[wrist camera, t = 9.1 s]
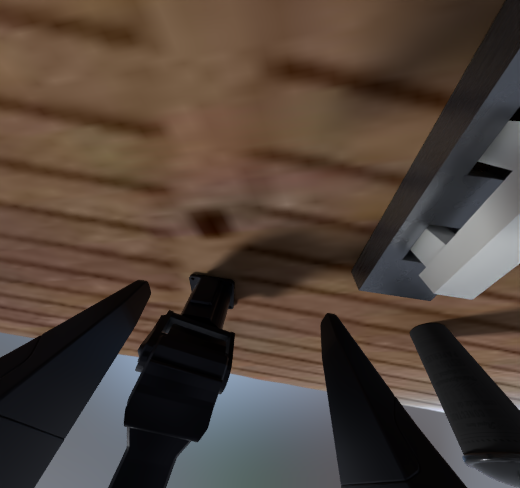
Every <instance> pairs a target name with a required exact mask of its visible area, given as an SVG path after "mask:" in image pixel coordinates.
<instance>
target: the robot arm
mask: <svg viewBox="0 0 520 488" xmlns="http://www.w3.org/2000/svg"><path fill="white" fill-rule="evenodd" d="M189 279H190V285H191V290H192V293H191V295H190V297H189V299H188V301H187V303H186V305H185V307H184V309H183V311H182V313H181V315H180V314H177V313H174V311H171V310H169V311H168V313H167V314H166V315H161V317H160V319H159V320H158V322H157V324H156V325H155V327H154V328H153V330H152V331H151V332H150V334H149V335H148V336H147V338H146V339H145V340H144V341H143V343H142V344H141V345H140V347H139V349H138V354H139V359H138V365H137V367H136V369H135V370H136V371H138V372H141V374H140V376H139V378H138V381H137V382H136V385H135V386H134V388H133V390H132V392H131V394H130V396H129V399H128V402H127V407H126V409H125V417H124V426H125V427H127V448H126V450H125V453H124V455H123V457H122V459H121V461H120V464H119V466H118V468H117V470H116V472H115V474H114V476H113V478H112V481H111V483H110V485H109V487H108V488H166V486H167V483H168V480H169V478H170V475H171V472H172V469H173V466H174V463H175V461H176V458H177V457H178V455H179V454H180V453H181V452H182V451H183V450H184V449H185V447H186V446H187V445H188V444H189V443H190V442H191V441H194V442H198V441H199V440H200V439H201V437H202V436H203V434H204V433H205V432H206V430H207V428H208V426H209V422H210V418H211V415H212V411H213V408H214V405H215V402H216V399H217V396H218V394H221V393H222V392H223V390H224V389H225V386H226V384H227V381H228V378H229V375H230V371H231V367H232V359H233V348H234V338H235V333H234V332H228V331H226V330H223V329H222V328H223V324H224V321H225V317H226V314H227V310H228V309H233V307H234V286H235V282H234V281H233V280H228V279H221V278H215V277H208V276H201V275H195V274H191V275H190V277H189ZM150 295H151V290H150V287H149V284H148V282H147V281H144V280H137V281H135V282H133V283H132V284H130V285H128V286H126V287H125V288H123V289H121V290H119V291H118V292H116V293H114V294H112V295H110V296H109V297H107V298H105V299H103V300H102V301H100V302H98V303H96V304H95V305H93V306H91V307H89V308H88V309H86V310H84V311H82V312H81V313H79V314H77V315H75V316H74V317H72V318H70V319H68V320H67V321H65V322H63V323H61V324H60V325H58V326H56V327H54V328H53V329H51V330H49V331H47V332H45V333H44V334H42V336H38V337H37V338H35V339H33V340H31V341H30V342H28V343H26V344H24V345H22V346H21V347H19V348H17V349H15V350H13V351H12V352H10V353H8V354H6V355H4V356H2V357H1V358H0V488H34V487H35V486H36V484H37V482H38V481H39V479H40V478H41V476H42V475H43V473H44V471H45V470H46V468H47V467H48V465H49V463H50V462H51V460H52V459H53V457H54V455H55V454H56V452H57V451H58V449H59V447H60V446H61V444H62V443H63V441H64V438H65V437H66V436H67V434H68V433H69V431H70V429H71V428H72V426H73V425H74V423H75V422H76V420H77V418H78V417H79V415H80V414H81V412H82V410H83V409H84V407H85V406H86V404H87V402H88V401H89V399H90V398H91V396H92V394H93V393H94V391H95V390H96V388H97V386H98V385H99V383H100V382H101V380H102V378H103V377H104V375H105V374H106V372H107V370H108V369H109V367H110V366H111V364H112V363H113V361H114V359H115V358H116V356H117V355H118V353H119V351H120V350H121V348H122V347H123V345H124V343H125V342H126V340H127V339H128V337H129V335H130V334H131V332H132V331H133V329H134V327H135V326H136V324H137V322H138V320H139V318H140V316H141V314H142V312H143V310H144V308H145V306H146V304H147V302H148V300H149V298H150ZM166 333H167V334H166ZM321 347H322V361H323V368H324V375H325V381H326V388H327V395H328V401H329V407H330V415H331V421H332V428H333V434H334V441H335V448H336V454H337V461H338V468H339V475H340V481H341V488H467V487H466V486H465V484H464V483H463V482H462V481H461V480H460V478H459V477H458V476H457V475H456V473H455V472H454V471H453V470H452V468H451V467H450V466H449V465H448V463H447V462H446V461H445V460H444V459H443V458H442V456H441V455H440V454H439V452H438V451H437V450H436V449H435V448H434V446H433V445H432V444H431V443H430V441H429V440H428V439H427V438H426V436H425V435H424V434H423V433H422V432H421V430H420V429H419V428H418V426H417V425H416V424H415V422H414V421H413V420H412V418H411V417H410V416H409V414H408V413H407V412H406V410H405V409H404V408H403V406H402V405H401V404H400V402H399V401H398V399H397V398H396V397H394V394H393V393H392V391H391V390H390V388H389V387H388V386H387V384H386V383H385V382H384V380H383V379H382V377H381V376H380V375H379V373H378V372H377V371H376V369H375V368H374V366H373V365H372V364H371V362H370V361H369V360H368V358H367V357H366V355H365V354H364V353H363V351H362V350H361V349H360V347H359V346H358V344H357V343H356V342H355V340H354V339H353V337H352V336H351V335H350V333H349V332H348V331H347V329H346V328H345V326H344V325H343V324H342V322H341V321H340V320H339V318H338V317H337V316H336V315H335V314H331V313H327V314H326V315H325V317H324V318H323V320H322V322H321Z"/></svg>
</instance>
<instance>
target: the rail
mask: <svg viewBox="0 0 520 488" xmlns="http://www.w3.org/2000/svg"><path fill="white" fill-rule="evenodd" d="M516 110H520V0H506V1H505V3H504V4H503V6H502V8H501V10H500V11H499V13H498V15H497V17H496V18H495V20H494V22H493V24H492V25H491V27H490V29H489V31H488V32H487V34H486V36H485V38H484V39H483V41H482V43H481V45H480V46H479V48H478V50H477V52H476V53H475V55H474V57H473V59H472V60H471V62H470V64H469V66H468V67H467V69H466V71H465V73H464V74H463V76H462V78H461V80H460V81H459V83H458V85H457V87H456V88H455V90H454V92H453V94H452V95H451V97H450V99H449V101H448V102H447V104H446V106H445V108H444V109H443V111H442V113H441V115H440V116H439V118H438V120H437V122H436V123H435V125H434V127H433V129H432V130H431V132H430V134H429V136H428V137H427V139H426V141H425V143H424V144H423V146H422V148H421V150H420V151H419V153H418V155H417V157H416V158H415V160H414V162H413V164H412V165H411V167H410V169H409V171H408V172H407V174H406V176H405V178H404V179H403V181H402V183H401V185H400V186H399V188H398V190H397V192H396V194H395V195H394V197H393V199H392V201H391V202H390V204H389V206H388V208H387V209H386V211H385V213H384V215H383V216H382V218H381V220H380V222H379V223H378V225H377V227H376V229H375V230H374V232H373V234H372V236H371V237H370V239H369V241H368V243H367V244H366V246H365V248H364V250H363V251H362V253H361V255H360V257H359V258H358V260H357V262H356V264H355V265H354V267H353V269H352V271H351V273H352V275H353V277H354V280H355V282H356V284H357V287H358V289H359V290H361V291H367V292H374V293H381V294H387V295H394V296H400V297H407V298H414V299H420V300H427V301H431V300H432V299H433V298H434V297H435V296H436V295H437V294H433V292H432V291H431V290H430V289H429V287H428V286H427V285H426V284H425V283H424V281H423V280H422V279H421V278H420V276H419V274H420V273H421V272H422V271H423V270H424V269H425V268H426V267H425V265H424V264H423V263H422V262H421V261H420V260H419V259H418V258H417V257H416V255H415V254H414V253H413V252H412V251H411V250H410V249H411V247H412V246H413V245H414V244H415V242H416V241H417V240H418V238H419V237H420V236H421V234H422V233H423V232H424V230H425V229H426V228H427V227H428V225H429V224H430V225H437V226H444V227H447V228H448V229H449V230H451V231H452V232H453V233H455V234H456V233H457V232H458V231H459V230H460V229H461V228H462V227H463V226H464V224H465V223H466V222H467V221H468V220H469V219H470V218H471V217H472V216H473V215H474V213H475V212H476V211H477V210H478V209H479V208H480V207H481V206H482V205H483V203H484V202H485V201H486V200H487V199H488V198H489V197H490V196H491V195H492V193H493V192H494V191H495V190H496V189H497V188H498V187H499V186H500V185H501V183H502V182H503V181H504V180H505V179H506V178H507V177H508V176H509V175H510V173H511V172H512V171H511V170H508V169H504V168H500V167H496V166H492V165H491V167H490V168H489V169H488V170H487V172H486V171H478V170H471V169H472V168H473V167H474V165H475V164H476V163H477V161H478V160H479V159H480V157H481V156H482V155H483V154H484V152H485V151H486V150H487V148H488V147H489V146H490V144H491V143H492V142H493V140H494V139H495V138H496V137H497V135H498V134H499V133H500V131H501V130H502V129H503V127H504V126H505V125H506V124H507V122H508V121H509V120H510V118H511V117H512V116H513V114H514V113H515V112H516Z"/></svg>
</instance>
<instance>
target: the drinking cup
mask: <svg viewBox="0 0 520 488" xmlns="http://www.w3.org/2000/svg"><path fill="white" fill-rule="evenodd" d="M410 336H411V338H412V340H413V343H414V345H415V347H416V349H417V352H418V354H419V356H420V358H421V361H422V363H423V365H424V367H425V369H426V372H427V374H428V376H429V378H430V381H431V383H432V385H433V387H434V389H435V392H436V394H437V396H438V398H439V401H440V403H441V405H442V407H443V410H444V412H445V414H446V416H447V418H448V421H449V423H450V425H451V427H452V430H453V432H454V434H455V436H456V438H457V441H458V443H459V445H460V447H461V450H462V452H463V454H464V456H463V457H462V458H463V460H464V462H465V464H466V465H467V466H469V467H472V468H475V469H477V470H478V471H480V472H481V473H483V474H485V475H487V476H488V477H490V478H493V479H495V480H497V481H499V482H502V483H505V484H508V485H511V486H515V487H519V488H520V410H519V409H518V408H517V407H516V406H515V405H514V404H513V403H512V401H511V400H510V399H509V398H508V397H507V396H506V395H505V393H504V392H503V391H502V390H501V389H500V388H499V387H498V386H497V384H496V383H495V382H494V381H493V380H492V379H491V378H490V376H489V375H488V374H487V373H486V372H485V371H484V370H483V369H482V367H481V366H480V365H479V364H478V363H477V362H476V361H475V359H474V358H473V357H472V356H471V355H470V354H469V353H468V351H467V350H466V349H465V348H464V347H463V346H462V345H461V344H460V342H459V341H458V340H457V339H456V338H455V337H454V336H453V334H452V333H451V332H450V331H449V330H448V329H447V328H446V327H445V326H444V325H442V324H438V323H427V324H422V325H419V326H417V327H415V328H413V329H412V330H411V331H410Z"/></svg>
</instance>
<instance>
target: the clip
mask: <svg viewBox="0 0 520 488" xmlns="http://www.w3.org/2000/svg"><path fill="white" fill-rule="evenodd" d="M477 162H481V163H485V164H489V165H492V166H496V167H500V168H504V169H508V170H511V171H512V172H511V173H510V175H509V176H508V177H507V178H506V179H505V180H504V181H503V182H502V183H501V185H500V186H499V187H498V188H497V189H496V190H495V191H494V192H493V193H492V195H491V196H490V197H489V198H488V199H487V200H486V201H485V202H484V203H483V205H482V206H481V207H480V208H479V209H478V210H477V211H476V212H475V213H474V215H473V216H472V217H471V218H470V219H469V220H468V221H467V222H466V223H465V224H464V226H463V227H462V228H461V229H460V230H459V231H458V232H457V233H456V234H455V233H453V232H452V231H451V230H449V229H448V228H447V227H444V226H437V225H430V224H429V225H428V227H427V228H426V229H425V230H424V232H423V233H422V234H421V236H420V237H419V238H418V240H417V241H416V242H415V244H414V245H413V246H412V247H411V249H410V250H411V251H412V252H413V253H414V254H415V255H416V257H417V258H418V259H419V260H420V261H421V262H422V263H423V264H424V265H425V267H426V268H425V269H424V270H423V271H422V272H421V273H420V274H419V276H420V278H421V279H422V280H423V281H424V283H425V284H426V285H427V286H428V287H429V289H430V290H431V291H432V292H433V294H438V295H445V296H452V297H458V298H465V299H472V300H473V299H474V298H475V297H476V296H478V295H479V294H480V293H482V292H483V291H484V290H486V289H487V288H488V287H490V286H491V285H492V284H493V283H495V282H496V281H497V280H499V279H500V278H501V277H503V276H504V275H505V274H506V273H508V272H509V271H510V270H512V269H513V268H514V267H516V266H517V265H518V264H520V121H508V122H507V124H506V125H505V126H504V127H503V129H502V130H501V131H500V133H499V134H498V135H497V137H496V138H495V139H494V140H493V142H492V143H491V144H490V146H489V147H488V148H487V150H486V151H485V152H484V154H483V155H482V156H481V157H480V159H479V160H478V161H477Z"/></svg>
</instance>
